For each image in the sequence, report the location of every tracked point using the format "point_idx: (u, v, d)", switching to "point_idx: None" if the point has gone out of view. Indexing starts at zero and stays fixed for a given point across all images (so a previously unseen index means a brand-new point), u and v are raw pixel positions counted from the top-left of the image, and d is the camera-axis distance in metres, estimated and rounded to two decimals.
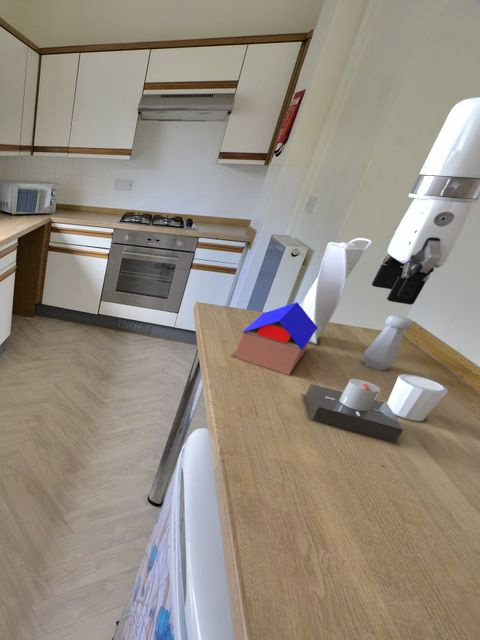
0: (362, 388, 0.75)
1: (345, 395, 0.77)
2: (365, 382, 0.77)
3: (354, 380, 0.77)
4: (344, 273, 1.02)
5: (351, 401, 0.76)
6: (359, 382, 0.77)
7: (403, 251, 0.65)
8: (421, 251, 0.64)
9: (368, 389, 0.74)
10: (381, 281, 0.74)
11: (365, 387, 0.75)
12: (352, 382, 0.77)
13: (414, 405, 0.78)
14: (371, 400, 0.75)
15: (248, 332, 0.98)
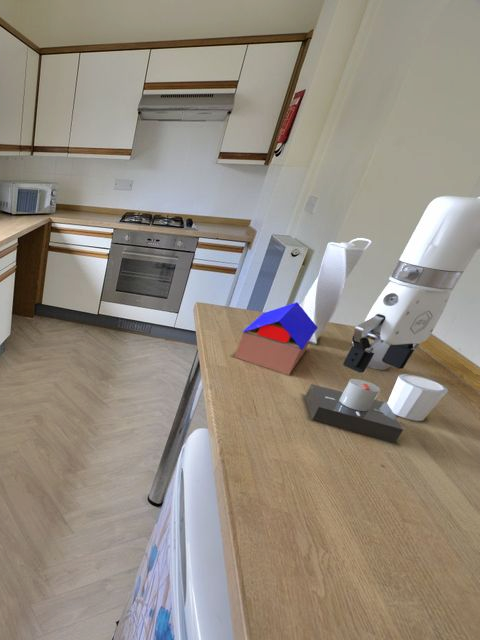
0: (362, 388, 0.75)
1: (345, 395, 0.77)
2: (365, 382, 0.77)
3: (354, 380, 0.77)
4: (344, 273, 1.02)
5: (351, 401, 0.76)
6: (359, 382, 0.77)
7: None
8: (381, 326, 0.70)
9: (368, 389, 0.74)
10: (388, 358, 0.76)
11: (365, 387, 0.75)
12: (352, 382, 0.77)
13: (414, 405, 0.78)
14: (371, 400, 0.75)
15: (248, 332, 0.98)
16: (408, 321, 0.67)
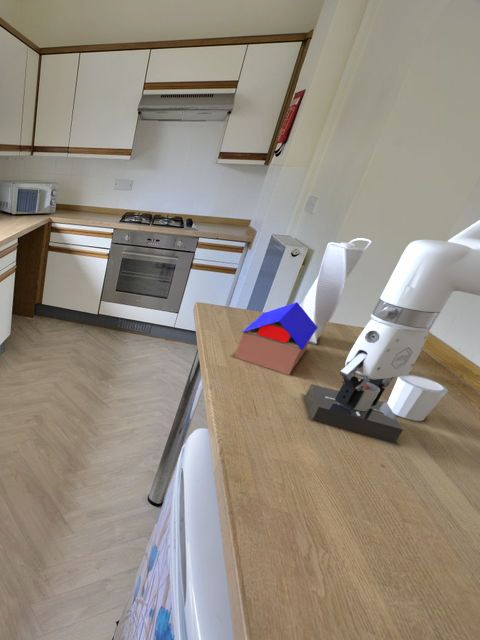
0: None
1: None
2: None
3: None
4: (344, 273, 1.02)
5: None
6: None
7: None
8: None
9: (368, 389, 0.74)
10: None
11: (365, 387, 0.75)
12: None
13: (414, 405, 0.78)
14: (371, 400, 0.75)
15: (248, 332, 0.98)
16: (389, 358, 0.70)
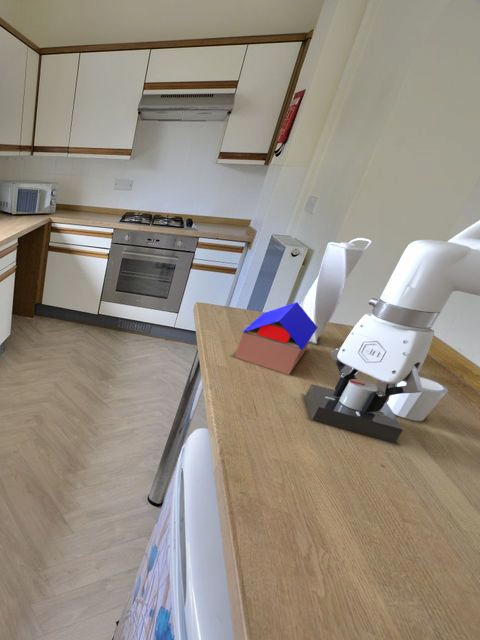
0: None
1: None
2: (374, 388, 0.75)
3: (368, 383, 0.77)
4: (344, 273, 1.02)
5: None
6: (369, 384, 0.76)
7: None
8: None
9: (350, 381, 0.77)
10: None
11: (354, 380, 0.77)
12: (361, 380, 0.77)
13: (414, 405, 0.78)
14: (349, 394, 0.77)
15: (248, 332, 0.98)
16: (354, 343, 0.75)
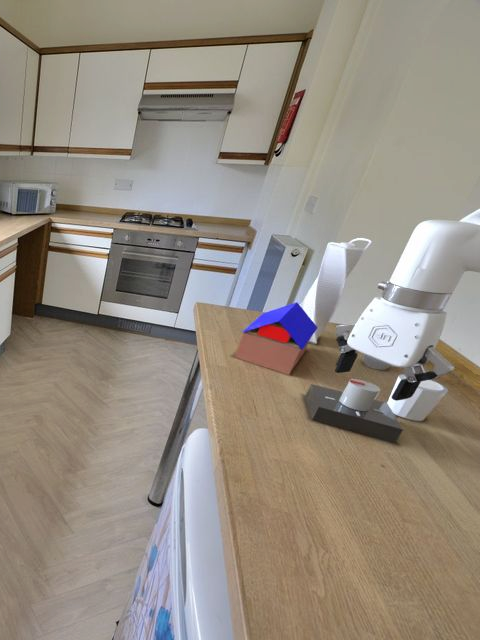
0: None
1: None
2: (374, 388, 0.75)
3: (369, 383, 0.77)
4: (344, 273, 1.02)
5: None
6: (369, 384, 0.76)
7: None
8: None
9: (350, 380, 0.77)
10: None
11: (354, 380, 0.77)
12: (361, 380, 0.77)
13: (414, 405, 0.78)
14: (349, 394, 0.77)
15: (248, 332, 0.98)
16: (364, 328, 0.73)
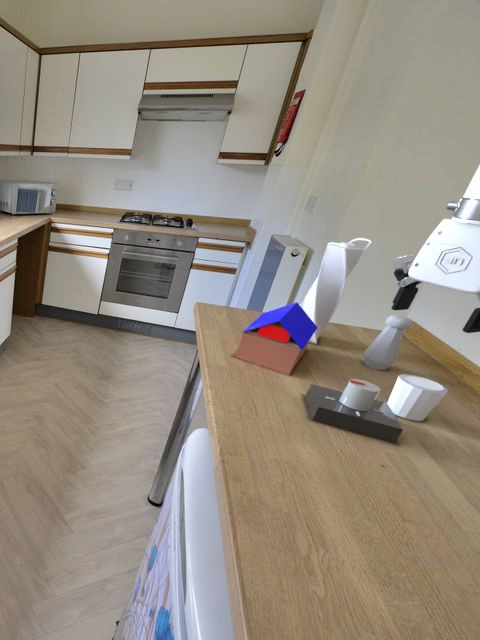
0: None
1: None
2: (374, 388, 0.75)
3: (369, 383, 0.77)
4: (344, 273, 1.02)
5: None
6: (369, 384, 0.76)
7: None
8: None
9: (350, 380, 0.77)
10: None
11: (354, 380, 0.77)
12: (361, 380, 0.77)
13: (414, 405, 0.78)
14: (349, 394, 0.77)
15: (248, 332, 0.98)
16: (430, 254, 0.66)
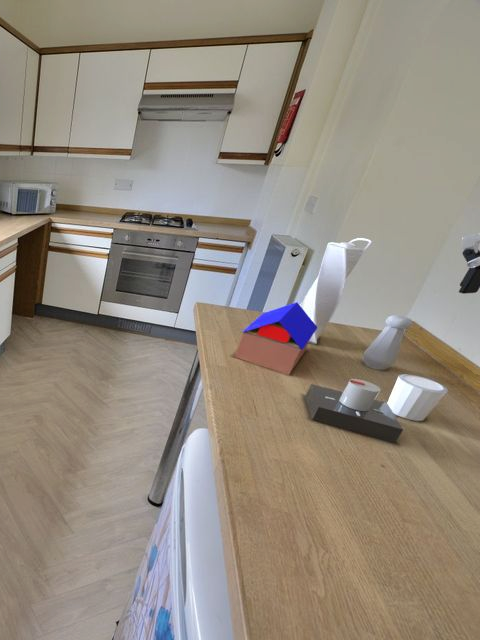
0: None
1: None
2: (374, 388, 0.75)
3: (369, 383, 0.77)
4: (344, 273, 1.02)
5: None
6: (369, 384, 0.76)
7: None
8: None
9: (350, 380, 0.77)
10: None
11: (354, 380, 0.77)
12: (361, 380, 0.77)
13: (414, 405, 0.78)
14: (349, 394, 0.77)
15: (248, 332, 0.98)
16: None
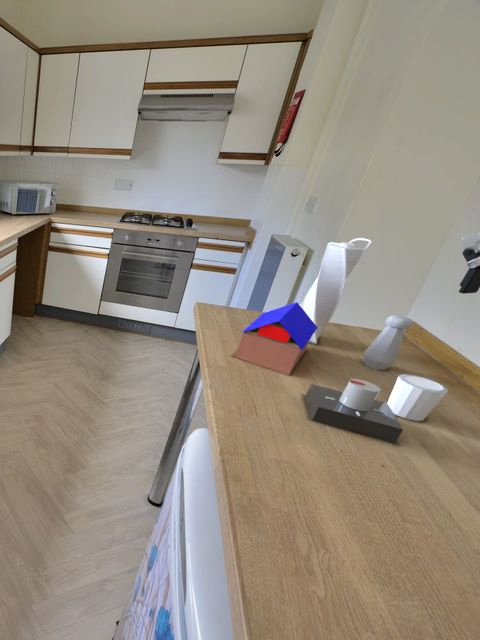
0: None
1: None
2: (374, 388, 0.75)
3: (369, 383, 0.77)
4: (344, 273, 1.02)
5: None
6: (369, 384, 0.76)
7: None
8: None
9: (350, 380, 0.77)
10: None
11: (354, 380, 0.77)
12: (361, 380, 0.77)
13: (414, 405, 0.78)
14: (349, 394, 0.77)
15: (248, 332, 0.98)
16: None
